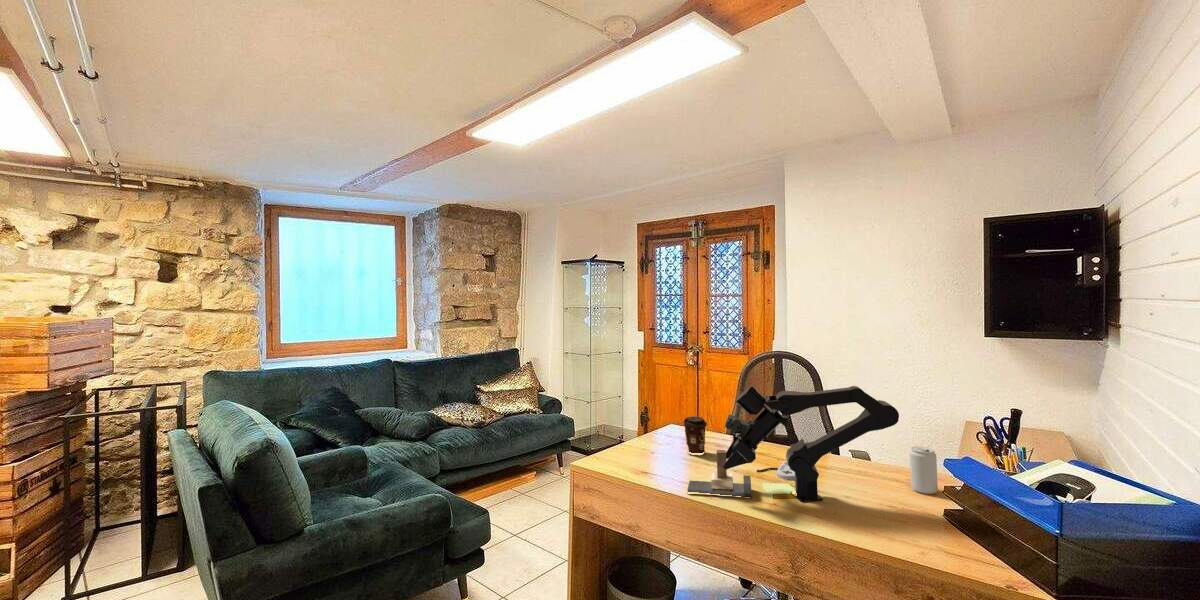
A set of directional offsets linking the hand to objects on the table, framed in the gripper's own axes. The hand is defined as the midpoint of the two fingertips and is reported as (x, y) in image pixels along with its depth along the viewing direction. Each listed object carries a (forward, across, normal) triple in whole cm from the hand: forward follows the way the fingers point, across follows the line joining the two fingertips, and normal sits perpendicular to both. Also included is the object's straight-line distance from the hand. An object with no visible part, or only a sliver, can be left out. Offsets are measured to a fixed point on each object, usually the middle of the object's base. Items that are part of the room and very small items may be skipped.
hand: (724, 462), depth 146 cm
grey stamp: (+5, 0, +4) cm, 7 cm away
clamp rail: (+8, 0, +5) cm, 9 cm away
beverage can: (-32, -10, +45) cm, 56 cm away
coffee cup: (+14, -35, -2) cm, 38 cm away
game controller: (-5, -21, +19) cm, 29 cm away
